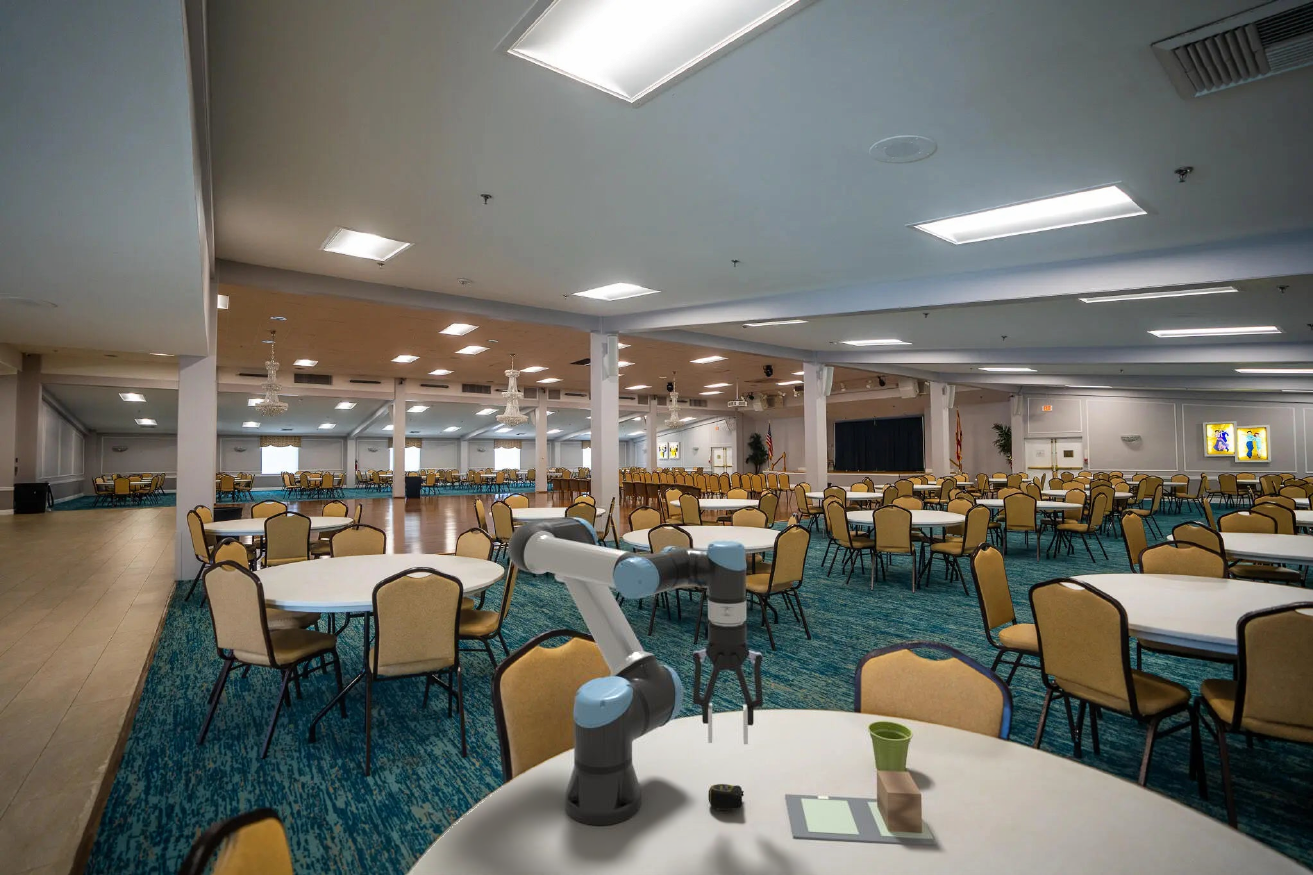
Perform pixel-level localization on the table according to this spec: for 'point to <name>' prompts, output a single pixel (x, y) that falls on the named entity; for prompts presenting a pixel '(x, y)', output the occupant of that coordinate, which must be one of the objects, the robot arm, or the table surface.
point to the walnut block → (899, 801)
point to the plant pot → (890, 745)
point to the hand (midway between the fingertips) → (727, 740)
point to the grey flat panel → (845, 821)
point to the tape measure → (725, 796)
